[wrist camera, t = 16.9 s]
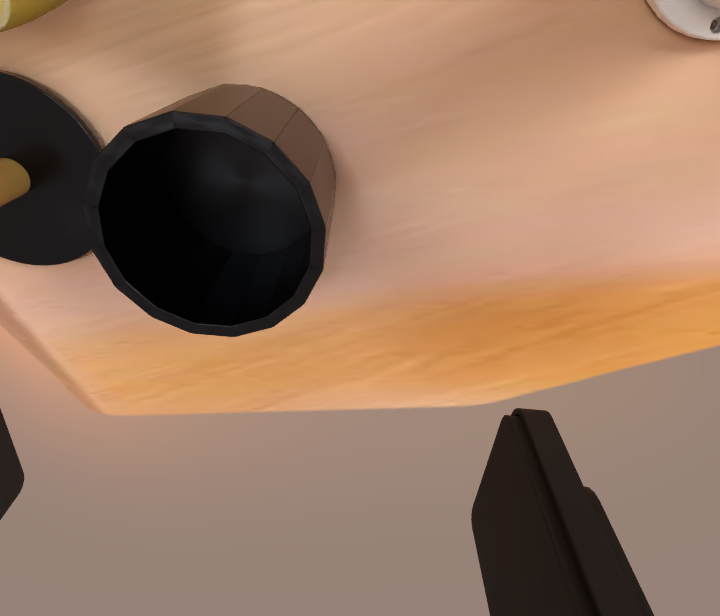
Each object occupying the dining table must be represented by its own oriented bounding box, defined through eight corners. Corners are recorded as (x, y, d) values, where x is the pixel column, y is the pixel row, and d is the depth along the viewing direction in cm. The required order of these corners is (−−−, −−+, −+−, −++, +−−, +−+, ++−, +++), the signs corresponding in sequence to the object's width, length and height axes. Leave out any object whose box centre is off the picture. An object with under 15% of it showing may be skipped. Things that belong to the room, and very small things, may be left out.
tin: (147, 74, 32) (61, 98, 23) (342, 95, 32) (332, 127, 23) (166, 252, 38) (105, 326, 29) (329, 267, 39) (318, 345, 30)
